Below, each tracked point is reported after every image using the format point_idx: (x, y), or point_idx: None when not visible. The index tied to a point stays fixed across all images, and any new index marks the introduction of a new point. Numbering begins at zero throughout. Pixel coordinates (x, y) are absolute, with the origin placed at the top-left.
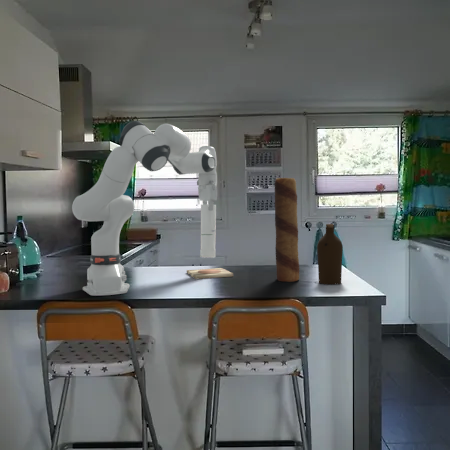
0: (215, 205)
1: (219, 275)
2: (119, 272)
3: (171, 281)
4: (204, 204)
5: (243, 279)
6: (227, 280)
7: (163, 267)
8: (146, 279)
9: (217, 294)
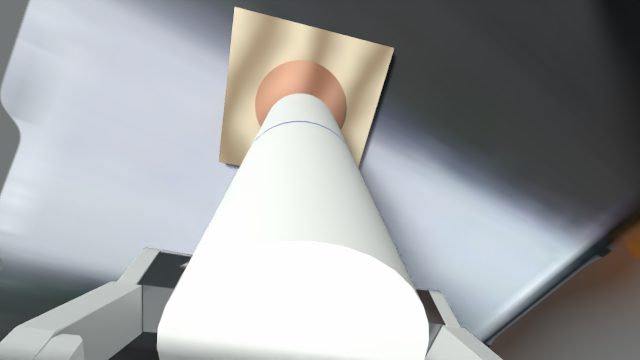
0: (402, 271)
1: (375, 104)
2: None
3: None
4: (102, 349)
5: (466, 50)
6: (440, 110)
7: (30, 171)
8: None
9: (567, 228)
